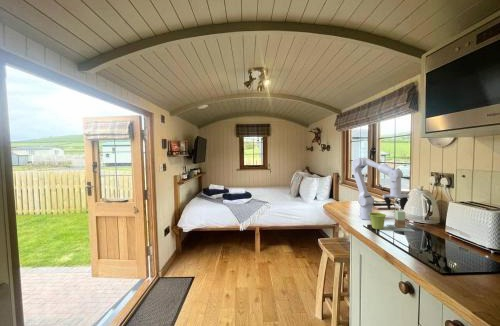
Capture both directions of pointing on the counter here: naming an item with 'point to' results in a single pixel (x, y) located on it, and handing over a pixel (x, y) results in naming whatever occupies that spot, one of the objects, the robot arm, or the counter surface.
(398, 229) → the board
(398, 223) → the walnut block
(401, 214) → the sage block
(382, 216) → the plant pot
